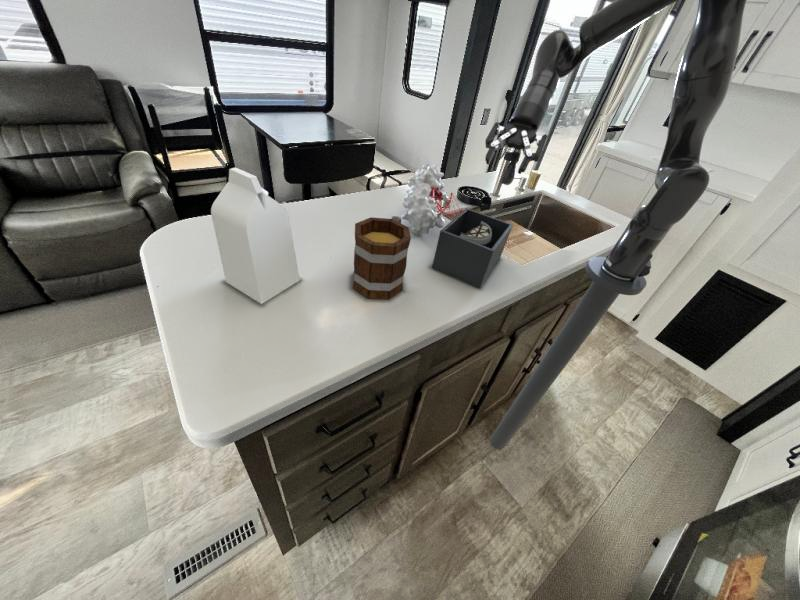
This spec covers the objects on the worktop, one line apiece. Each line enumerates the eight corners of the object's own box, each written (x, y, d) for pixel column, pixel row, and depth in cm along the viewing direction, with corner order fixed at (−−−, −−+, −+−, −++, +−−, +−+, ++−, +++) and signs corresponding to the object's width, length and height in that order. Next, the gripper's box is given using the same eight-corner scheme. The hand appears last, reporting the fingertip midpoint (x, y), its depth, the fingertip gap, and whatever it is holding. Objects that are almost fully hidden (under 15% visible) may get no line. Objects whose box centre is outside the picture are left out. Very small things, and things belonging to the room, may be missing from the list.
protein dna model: (449, 246, 115) (436, 184, 120) (476, 222, 98) (459, 151, 103) (397, 248, 108) (386, 182, 113) (417, 222, 91) (402, 147, 97)
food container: (469, 274, 89) (479, 243, 82) (451, 264, 92) (459, 233, 85) (490, 258, 97) (501, 229, 90) (473, 249, 99) (482, 220, 93)
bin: (499, 258, 99) (513, 224, 91) (479, 288, 86) (493, 251, 78) (456, 241, 103) (466, 207, 96) (431, 267, 90) (440, 230, 83)
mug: (394, 306, 76) (402, 253, 66) (342, 290, 78) (342, 236, 68) (415, 264, 91) (424, 215, 81) (371, 251, 93) (374, 202, 83)
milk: (226, 282, 75) (193, 170, 58) (265, 261, 83) (247, 157, 66) (261, 304, 71) (237, 190, 54) (299, 280, 79) (289, 174, 62)
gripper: (504, 94, 81) (476, 151, 80) (561, 106, 76) (532, 167, 76) (503, 115, 88) (477, 167, 87) (555, 128, 83) (528, 183, 83)
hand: (503, 167), depth 82 cm, fingers open, 8 cm apart
